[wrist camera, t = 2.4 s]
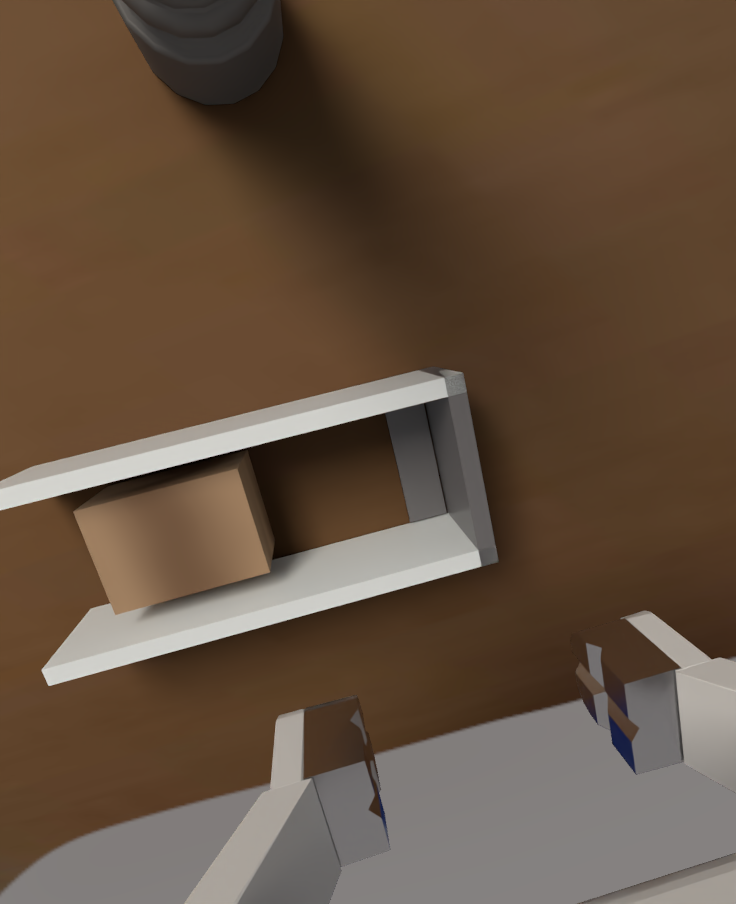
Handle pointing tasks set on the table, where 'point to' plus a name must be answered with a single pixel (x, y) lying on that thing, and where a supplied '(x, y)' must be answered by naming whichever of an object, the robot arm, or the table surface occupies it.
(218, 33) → the candle holder
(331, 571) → the white channel
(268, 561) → the light brown block
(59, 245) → the table surface
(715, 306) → the table surface
